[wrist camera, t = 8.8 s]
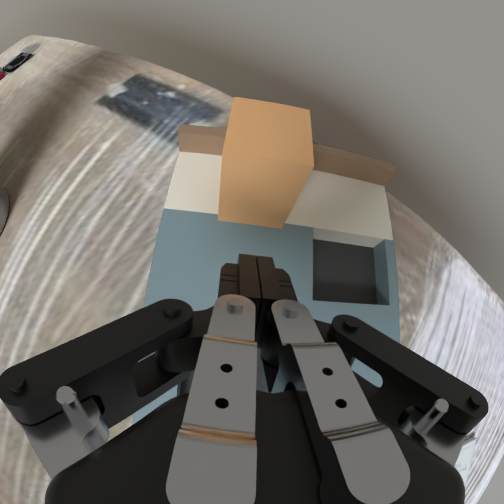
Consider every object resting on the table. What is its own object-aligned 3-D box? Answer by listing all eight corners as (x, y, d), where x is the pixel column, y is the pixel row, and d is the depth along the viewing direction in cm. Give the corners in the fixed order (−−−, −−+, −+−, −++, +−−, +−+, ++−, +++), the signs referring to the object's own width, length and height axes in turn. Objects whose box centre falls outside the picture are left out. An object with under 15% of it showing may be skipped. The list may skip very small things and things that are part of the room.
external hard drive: (402, 536, 14) (425, 455, 19) (448, 513, 15) (469, 436, 19) (409, 540, 13) (435, 458, 17) (456, 516, 13) (478, 437, 18)
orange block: (217, 220, 22) (222, 151, 14) (226, 169, 23) (233, 97, 16) (281, 228, 22) (314, 166, 15) (283, 177, 24) (309, 110, 16)
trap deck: (140, 422, 17) (121, 439, 13) (183, 160, 26) (180, 124, 22) (377, 427, 19) (411, 437, 15) (371, 190, 28) (394, 164, 23)
